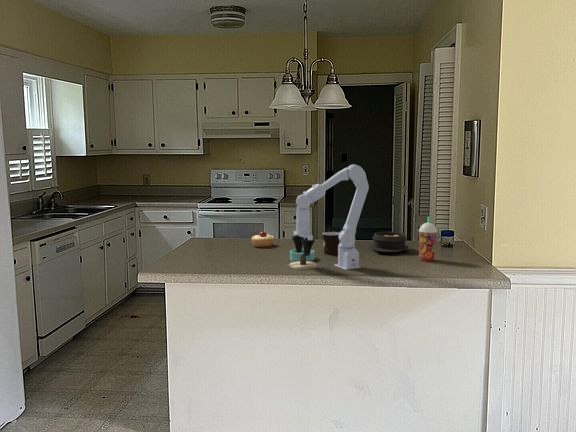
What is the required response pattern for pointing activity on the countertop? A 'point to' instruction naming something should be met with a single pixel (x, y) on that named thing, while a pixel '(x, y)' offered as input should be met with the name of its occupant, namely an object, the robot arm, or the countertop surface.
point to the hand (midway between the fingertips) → (302, 253)
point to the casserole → (389, 242)
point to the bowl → (296, 256)
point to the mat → (302, 269)
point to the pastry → (262, 240)
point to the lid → (303, 263)
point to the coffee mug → (330, 243)
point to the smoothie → (427, 241)
